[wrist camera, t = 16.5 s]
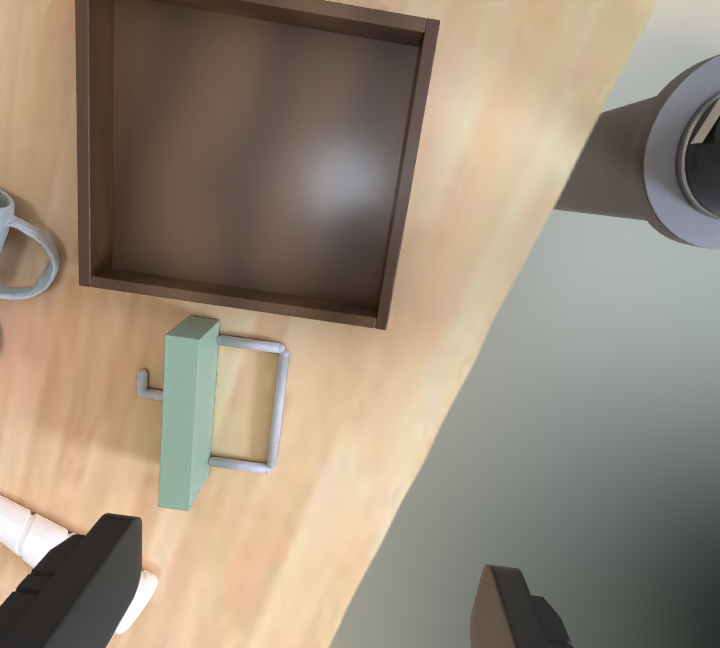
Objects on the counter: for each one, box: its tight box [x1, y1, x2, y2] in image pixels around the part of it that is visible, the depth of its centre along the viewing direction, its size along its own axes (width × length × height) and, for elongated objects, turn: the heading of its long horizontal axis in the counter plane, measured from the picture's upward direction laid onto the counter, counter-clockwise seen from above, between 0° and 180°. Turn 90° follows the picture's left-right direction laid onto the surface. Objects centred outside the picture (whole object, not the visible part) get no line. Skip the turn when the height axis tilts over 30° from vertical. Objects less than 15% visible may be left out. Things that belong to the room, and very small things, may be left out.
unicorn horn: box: [0, 495, 158, 634], centre depth 40 cm, size 5×24×5 cm, turn 50°
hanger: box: [136, 316, 289, 511], centre depth 37 cm, size 12×14×5 cm
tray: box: [75, 0, 440, 330], centre depth 32 cm, size 22×20×4 cm
